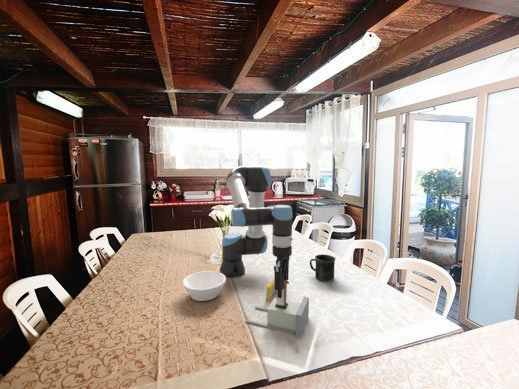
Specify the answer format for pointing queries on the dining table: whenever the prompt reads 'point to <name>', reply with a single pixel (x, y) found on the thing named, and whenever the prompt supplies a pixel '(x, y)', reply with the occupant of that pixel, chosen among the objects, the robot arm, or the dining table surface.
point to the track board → (300, 319)
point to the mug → (324, 267)
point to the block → (283, 315)
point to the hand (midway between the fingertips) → (281, 301)
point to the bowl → (204, 285)
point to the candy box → (270, 290)
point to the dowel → (284, 296)
